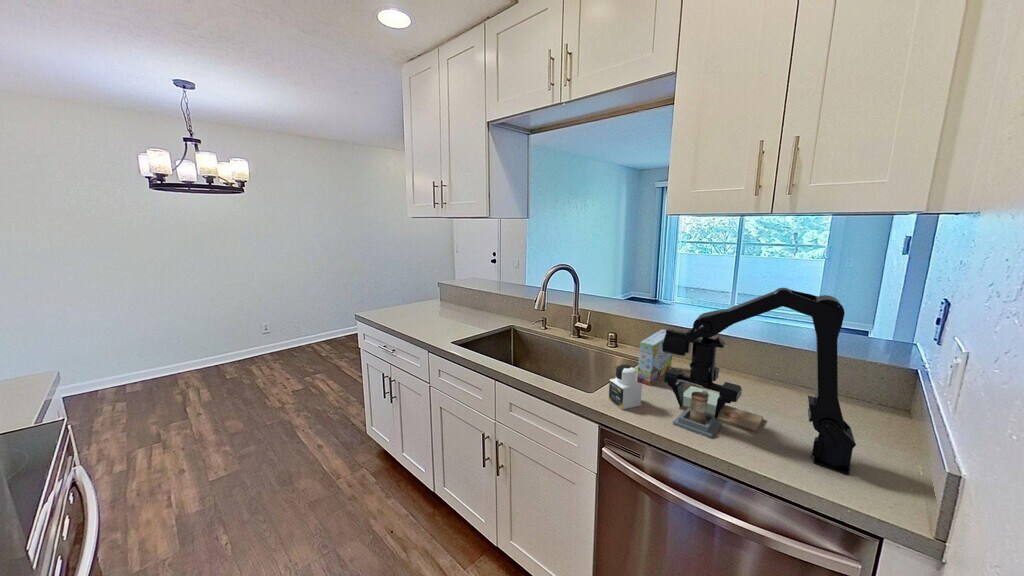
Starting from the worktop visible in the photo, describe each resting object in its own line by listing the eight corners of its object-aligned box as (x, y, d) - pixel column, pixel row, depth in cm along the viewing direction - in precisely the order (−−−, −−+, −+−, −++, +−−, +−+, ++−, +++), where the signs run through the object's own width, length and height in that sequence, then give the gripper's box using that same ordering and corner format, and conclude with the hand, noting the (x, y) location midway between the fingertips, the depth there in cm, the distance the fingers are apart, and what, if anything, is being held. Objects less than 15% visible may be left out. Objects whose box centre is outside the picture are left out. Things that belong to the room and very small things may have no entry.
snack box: (651, 386, 131) (654, 344, 128) (636, 382, 135) (638, 341, 132) (672, 368, 147) (675, 331, 144) (657, 364, 151) (660, 328, 148)
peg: (707, 421, 107) (710, 394, 105) (702, 427, 104) (705, 399, 102) (692, 416, 109) (694, 390, 108) (687, 421, 106) (689, 395, 105)
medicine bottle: (608, 399, 122) (609, 364, 119) (626, 396, 124) (628, 361, 122) (621, 410, 115) (624, 372, 113) (641, 406, 117) (643, 369, 115)
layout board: (763, 419, 109) (763, 415, 109) (755, 433, 102) (755, 429, 102) (690, 397, 123) (691, 394, 123) (679, 408, 116) (679, 405, 116)
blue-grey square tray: (721, 425, 107) (721, 417, 106) (711, 438, 100) (712, 430, 100) (684, 412, 113) (684, 405, 113) (672, 424, 107) (673, 417, 106)
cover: (724, 404, 116) (725, 393, 115) (715, 415, 109) (717, 403, 108) (690, 394, 122) (691, 383, 122) (680, 404, 116) (681, 392, 115)
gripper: (749, 360, 103) (743, 413, 106) (679, 344, 115) (675, 392, 118) (739, 372, 95) (732, 429, 98) (664, 354, 107) (660, 405, 110)
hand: (698, 412), depth 106 cm, fingers open, 9 cm apart
